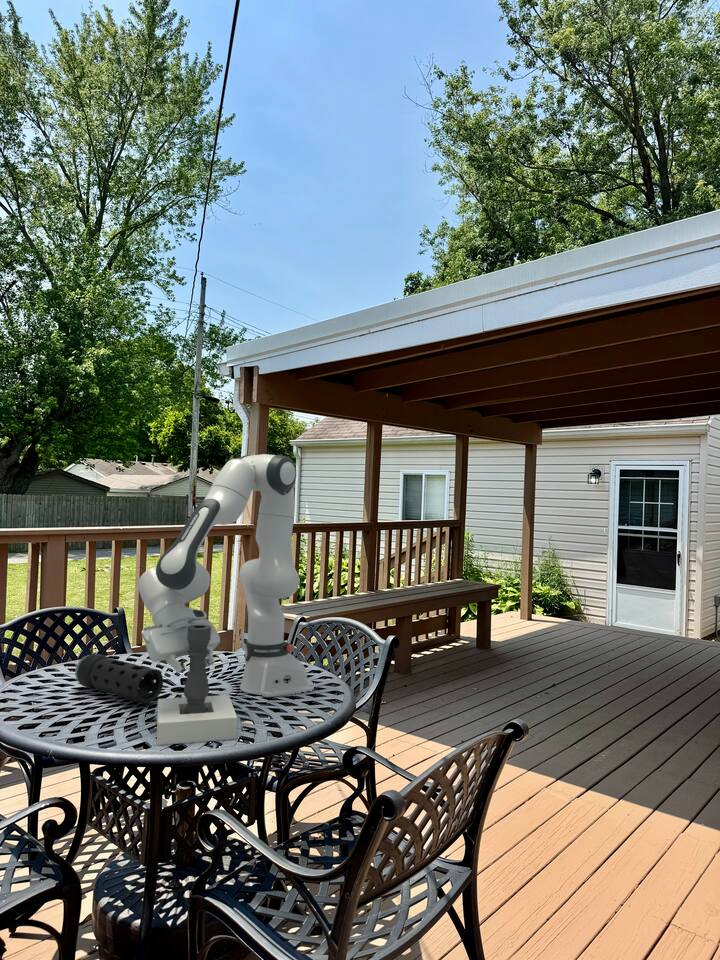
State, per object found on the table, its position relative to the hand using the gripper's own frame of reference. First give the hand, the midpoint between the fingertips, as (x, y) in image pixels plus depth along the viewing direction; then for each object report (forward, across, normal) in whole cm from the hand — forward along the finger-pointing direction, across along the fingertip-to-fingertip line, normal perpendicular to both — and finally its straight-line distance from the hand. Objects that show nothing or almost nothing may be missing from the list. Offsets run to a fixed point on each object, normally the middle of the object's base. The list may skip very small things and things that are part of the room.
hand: (196, 667), depth 153 cm
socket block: (+11, 0, +10) cm, 15 cm away
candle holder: (+11, 0, +10) cm, 15 cm away
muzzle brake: (-14, +2, +36) cm, 39 cm away
